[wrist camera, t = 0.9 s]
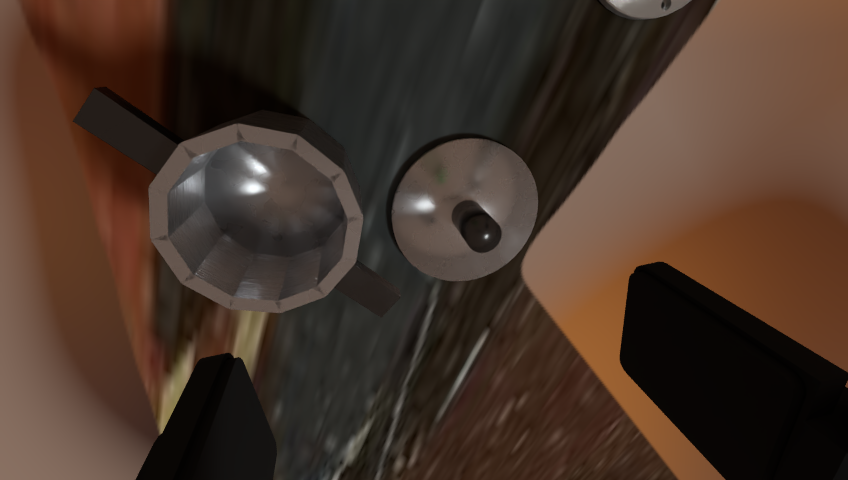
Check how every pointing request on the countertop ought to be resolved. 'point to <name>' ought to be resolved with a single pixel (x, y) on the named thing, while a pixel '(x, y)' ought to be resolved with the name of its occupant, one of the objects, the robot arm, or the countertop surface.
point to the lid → (464, 209)
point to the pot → (248, 207)
